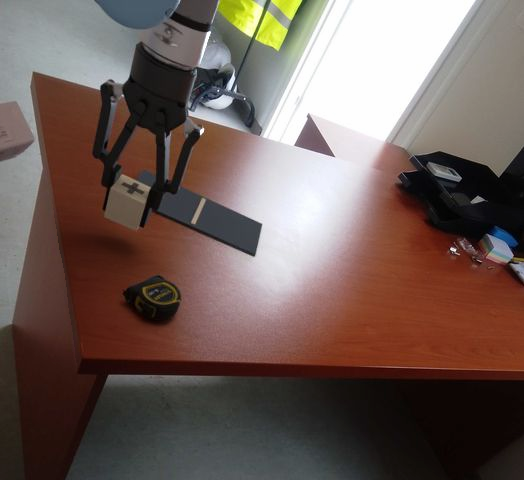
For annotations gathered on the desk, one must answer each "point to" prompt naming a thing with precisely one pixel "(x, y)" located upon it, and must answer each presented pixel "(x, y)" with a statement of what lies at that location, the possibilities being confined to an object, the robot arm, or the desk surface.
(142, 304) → the tape measure
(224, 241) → the mat
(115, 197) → the plus sign block
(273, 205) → the desk surface
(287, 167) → the desk surface
